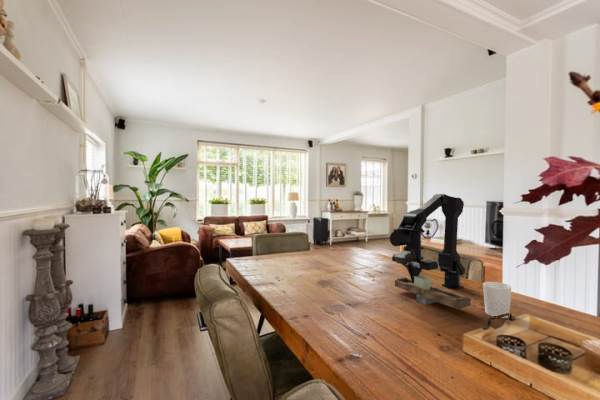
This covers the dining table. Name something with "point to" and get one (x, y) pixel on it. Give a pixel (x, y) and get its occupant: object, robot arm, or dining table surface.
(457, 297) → the beam
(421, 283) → the pale green cube
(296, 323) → the dining table surface
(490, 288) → the white cup
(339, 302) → the dining table surface
